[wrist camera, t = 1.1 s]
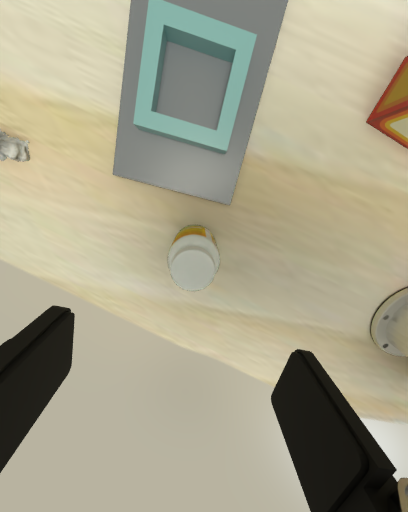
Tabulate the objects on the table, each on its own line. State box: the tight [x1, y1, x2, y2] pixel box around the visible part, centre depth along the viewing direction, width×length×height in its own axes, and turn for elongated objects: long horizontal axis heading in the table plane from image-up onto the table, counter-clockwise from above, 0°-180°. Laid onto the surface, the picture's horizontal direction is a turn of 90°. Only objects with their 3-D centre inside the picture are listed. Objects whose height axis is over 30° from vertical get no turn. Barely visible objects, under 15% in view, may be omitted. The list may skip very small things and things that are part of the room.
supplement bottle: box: [168, 225, 220, 291], centre depth 22 cm, size 5×5×10 cm
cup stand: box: [113, 0, 288, 205], centre depth 20 cm, size 14×20×3 cm
